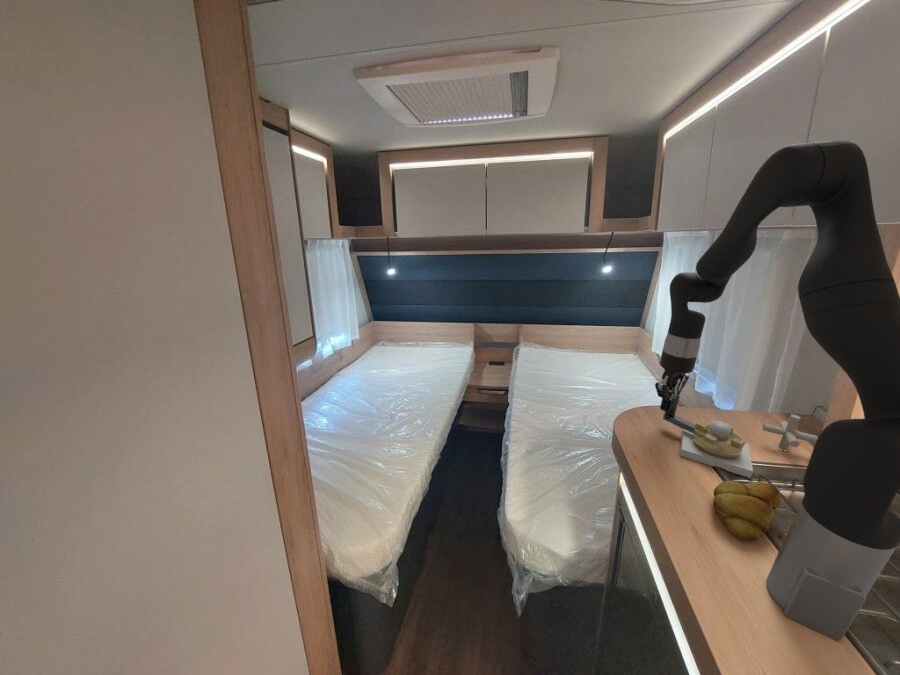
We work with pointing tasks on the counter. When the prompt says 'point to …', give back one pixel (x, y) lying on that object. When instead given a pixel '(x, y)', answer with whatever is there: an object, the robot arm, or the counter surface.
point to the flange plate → (690, 451)
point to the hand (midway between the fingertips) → (665, 410)
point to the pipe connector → (789, 433)
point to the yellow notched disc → (707, 436)
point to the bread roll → (746, 507)
